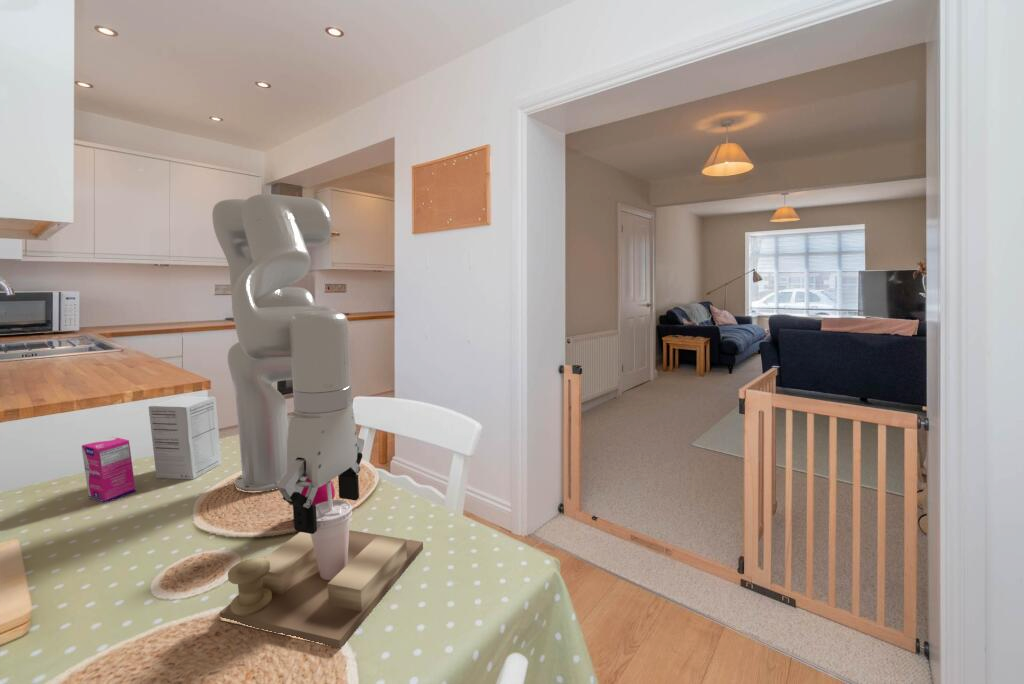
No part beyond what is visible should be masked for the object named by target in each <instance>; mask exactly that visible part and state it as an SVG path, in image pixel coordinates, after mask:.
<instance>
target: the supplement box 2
mask: <svg viewBox="0 0 1024 684" xmlns="http://www.w3.org/2000/svg"><path fill="white" fill-rule="evenodd" d="M216 398H217V397H215V396H200V395H199V396H198V395H196V396H195V395H194V396H193V395H180V396H177V397H174V398H171V399H168V400H165V401H161V402H157V403H154V404H151V405H149V406H148V414H149V423H150V434H151V442H152V449H153V459H154V466H155V467H154V468H155V474H156V478H157V479H169V480H170V479H174V480H176V479H177V480H195V479H196V478H198V477H200V476H202V475H203V474H205V473H207V472H209V471H211V470H213V469H215V468H217V467H218V466H221V465H222V464H223V463H222V454H221V451H222V450H221V442H220V431H219V422H218V413H217V412H218V410H217V399H216Z"/></svg>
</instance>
